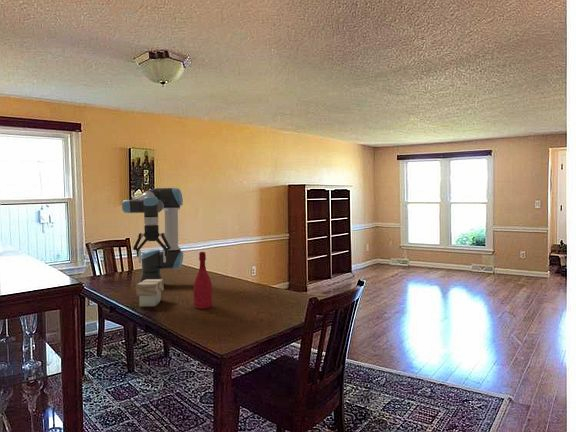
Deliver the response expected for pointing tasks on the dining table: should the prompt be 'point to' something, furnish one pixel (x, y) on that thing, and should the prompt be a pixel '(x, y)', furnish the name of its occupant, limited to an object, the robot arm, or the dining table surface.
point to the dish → (150, 300)
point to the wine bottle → (202, 286)
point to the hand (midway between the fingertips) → (152, 262)
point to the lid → (149, 287)
